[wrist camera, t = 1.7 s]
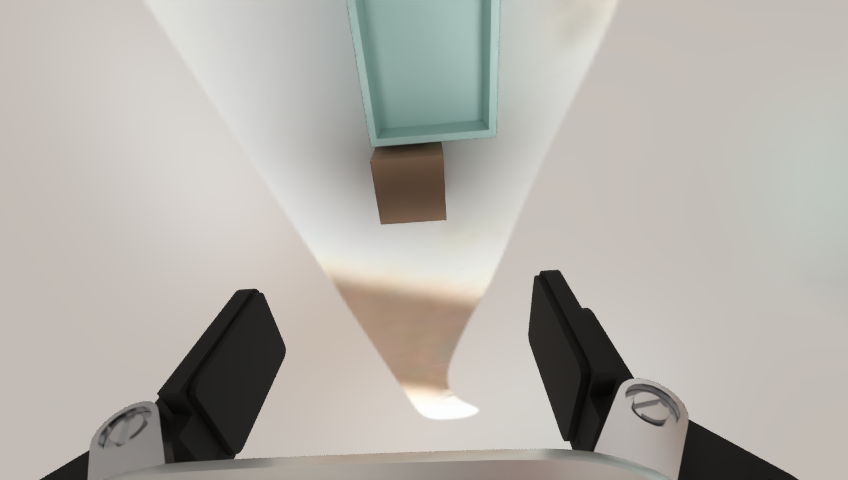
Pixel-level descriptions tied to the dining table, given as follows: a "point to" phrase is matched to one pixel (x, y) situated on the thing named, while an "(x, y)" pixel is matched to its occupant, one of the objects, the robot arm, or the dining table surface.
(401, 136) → the tote
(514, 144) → the dining table surface
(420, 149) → the walnut cube
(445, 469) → the robot arm
